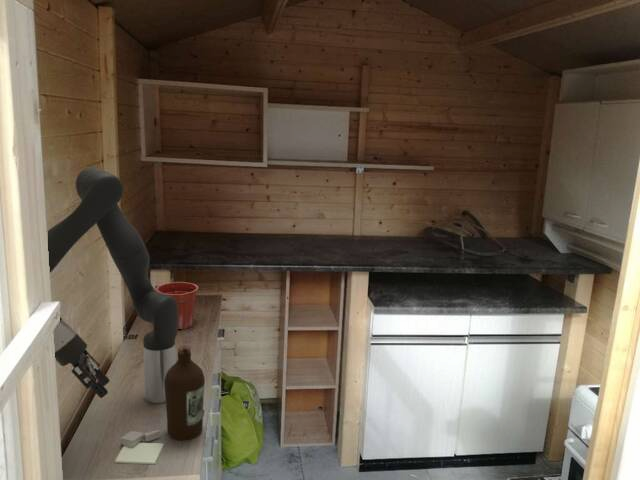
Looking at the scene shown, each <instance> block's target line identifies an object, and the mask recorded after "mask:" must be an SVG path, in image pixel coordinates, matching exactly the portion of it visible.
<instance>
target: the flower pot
mask: <svg viewBox="0 0 640 480" xmlns="http://www.w3.org/2000/svg"><path fill="white" fill-rule="evenodd" d="M198 289H199V286H198V285H197V284H195V283H192V282H185V281H175V282H174V281H173V282H167V283H164V284H163V283H162V284H160V285H158V286H157V287H156V289H155V291H156V292H158V293H161V294H165V295H168V296H171V297H173V298H174V299H175V300H176V301H177V304H178V329H182V330H185V329H184V328H186V329H189V328H191V327H192V326H193V325H194V317H195V316H194V315H195V303H196V298H197V291H198ZM190 326H191V327H190ZM188 327H189V328H188Z"/></svg>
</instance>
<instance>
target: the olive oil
mask: <svg viewBox="0 0 640 480" xmlns="http://www.w3.org/2000/svg"><path fill="white" fill-rule="evenodd" d="M177 351H178V352H177V360H176V361H175V364H174V365H173V366H172V367H171V368H170V369H169V370H168V372H167V374H166V376H165V381H164V385H165V397H166V402H165V407H166V423H167V425H166V426H167V435H168V436H169V437H170V438H171V439H175V440H178V441H187V440H188V441H189V440H192V439H194V438H197V437H198V436H199V435H201V434H202V432H203V424H204V423H203V422H204V421H203V418H204V417H205V410H204V399H205V396H204V395H205V380H206V379H205V375H204V372H203V369H202V368H201V366H199V365H197V363H195V362H194V361H193V360H192V359H191V356H192V352H191V346H190V345H186V344H184V345H180V346H179V347H178V348H177Z"/></svg>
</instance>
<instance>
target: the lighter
mask: <svg viewBox="0 0 640 480" xmlns="http://www.w3.org/2000/svg"><path fill="white" fill-rule="evenodd" d="M159 438H161V431H160V430H158V429H155V430H152V431H149V432H145V433H143V432H142V431H141V432H140V431H133V430H130V432H127V433H126V434H125V435H122V436H121V437H120V438H119V443H120V445H123V446H124V445H126V446H130V447H133V446H135V445H136V444H138V443H142V441H145V443H149V442H150V441H154V440H156V439H159Z"/></svg>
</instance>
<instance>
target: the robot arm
mask: <svg viewBox="0 0 640 480" xmlns="http://www.w3.org/2000/svg"><path fill="white" fill-rule="evenodd" d="M75 189H76V193H77V195H78V197H79V198H80V200H81V202H80V203H79V204H78V206H77V207H76V208H75V209H74V210H73V211H72V212H71V213H70V214H69V215H67V217H65V218H64V219H63V220H61V221H59V222H58V223H56V224H55V225H54V226H52V227H51V228H49V229H48V230H47V231H48V251H49V266H50V274H51V273H52V272H53V270H54V269H55V268H56V267H57V266H58V265H59V264H60V262H61V261H62V260H63V259H64V257H65V256H66V255H67V254H68V253H69V251H70V250H71V249H72V248H73V246H75V244H77V242H78V241H80V239H81V238H82V237H83V236H85V234H86V233H87V232H89V231H90V229H92V227H94V226H95V225H97V228H98V231H99V233H100V235H101V237H102V239H103V241H104V243H105V246H106V247H107V250H108V251H109V254H110V256H111V258H112V260H113V262H114V264H115V266H116V268H117V269H118V272H119V274H120V276H121V277H122V279H123V282H124V284H125V286H126V288H127V290H128V293H129V296H130V298H131V301H132V303H133V307H134V309H135V312H136V314H137V316H138V317H139V318H140V319H141V320H142V321H144V322H146V323H150V324H152V325H153V331H150V332H148V333H145V335H144V337H143V340H142V341H143V343H142V344H143V345H142V346H143V373H144V374H143V377H144V381H143V382H144V398H145V401H147V402H148V403H153V404H163V403H166V397H165V385H164V381H165V376H166V374H167V372H168V370H169V369H170V368H171V367H172V366H173V365H174V364H175V363H176V338H177V335H178V331H179V330H178V304H177V301H176V300H175V299H174V298H173V297H171V296H168V295H165V294H161V293H158V292H157V290H156V289H155V288H154V287H153V284H152V282H151V280H150V278H149V269H150V261H151V259H150V254H149V251H148V249H147V247H146V244H145V243H144V241H143V239H142V237H141V235H140V233H139V232H138V230H137V229H136V228H135V227H134V225H133V224H132V223H131V221H130V220H129V219H128V218H127V217H126V216H125V214H124V213H123V211H122V210H121V208H120V206H119V204H118V203H119V202H120V201H121V200H122V198H123V196H124V191H125V188H124V184H123V182H122V181H121V179H120V178H119V177H118V176H116V175H115V174H112V173H111V172H109V171H106V170H104V169H102V168H97V167H88V168H87V167H86V168H84V169H82V170H81V171H80V172H79V173H78V174H77V177H76V180H75ZM54 343H55V358H56V360H55V361H56V362H57V363H58V364H59V365H60V366H61V367H65V366H67V365H69V364H70V365H71V366H72V367H73V368H72V369H71V373H72V374H73V375H74V376H75V377H76V379H78V380H79V382H80V383H81V384H82V385H83V386H84V387H85V389H87V390H88V389H91V390H92V391H93V392H94V393H95V394H96V396H98V397H99V398H100V399H103V398H104V397H105V396H106V395H108V393H109V391H108V389H107V388H106V387H105V386H106V385H107V384H108V383H110V379H109V377H108V376H107V375H106V374H105V373H104V372H103V371H102V368H101V367H100V363H99V362H98V361H97V360H96V359H95V358H94V357H93V356H92V355H91V354H90V352H88V350H87V349H88V348H87V347H88V344H87V342H86V341H84V339H83V338H82V337H81V336H80V335H79V334H78V333H77V331H76V330H74V329H73V327H72V326H71V325H70V324H69V323H68V322H67V321H66V320H64V319H63V318H62V317H61V316H60V322H59V324H58V325H57V326H56V328H55V330H54Z"/></svg>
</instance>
